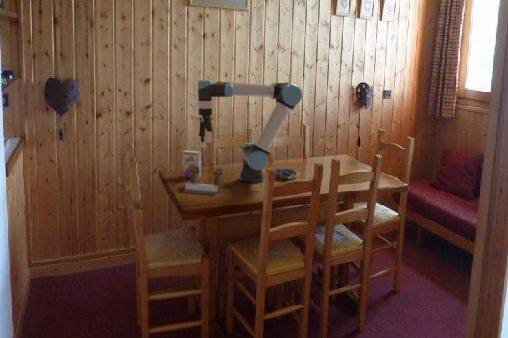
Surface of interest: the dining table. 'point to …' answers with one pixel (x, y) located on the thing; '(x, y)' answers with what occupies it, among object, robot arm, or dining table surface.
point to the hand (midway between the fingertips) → (206, 145)
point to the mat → (200, 192)
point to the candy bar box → (190, 162)
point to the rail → (202, 187)
